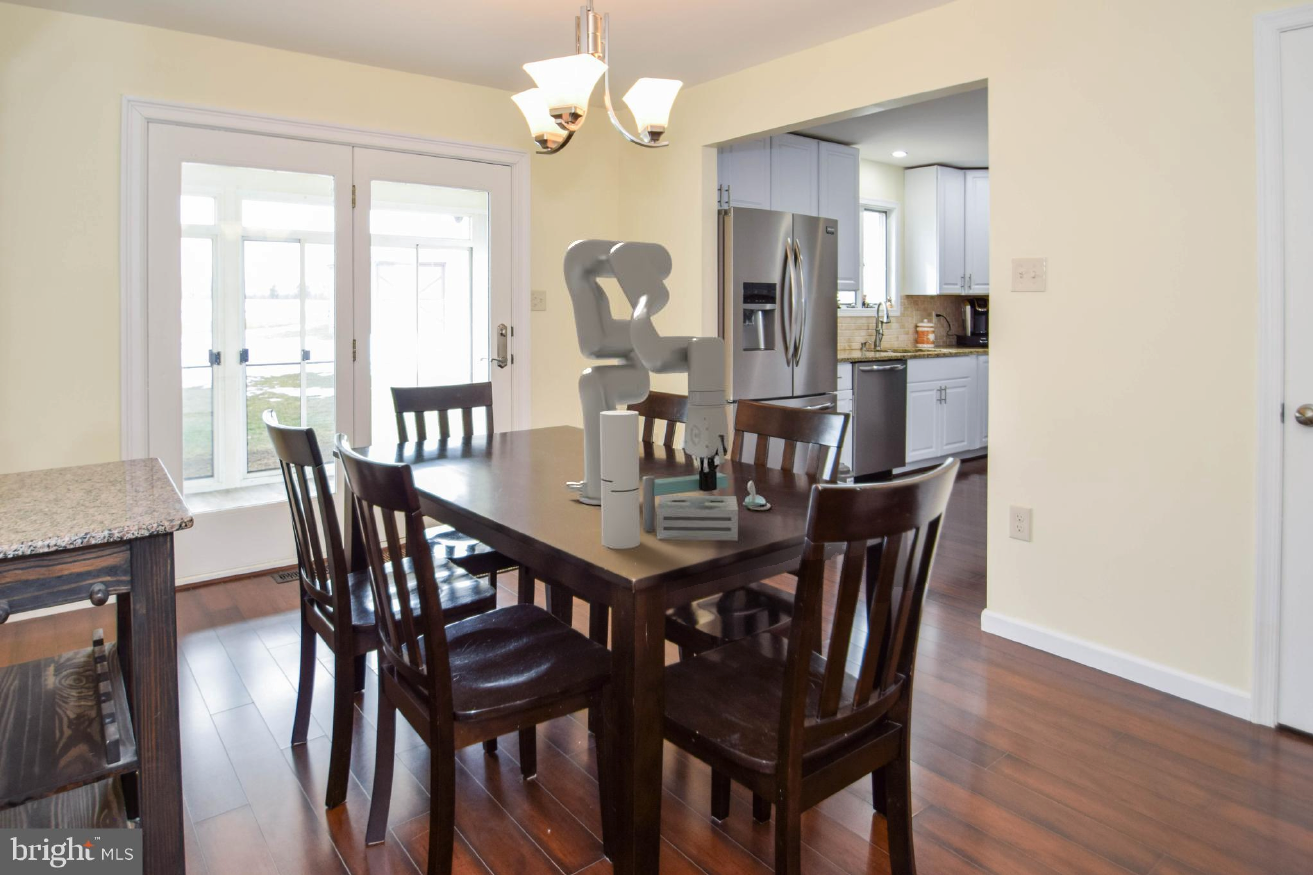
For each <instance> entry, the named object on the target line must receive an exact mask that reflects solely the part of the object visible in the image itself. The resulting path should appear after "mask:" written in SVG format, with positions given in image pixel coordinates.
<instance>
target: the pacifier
mask: <svg viewBox="0 0 1313 875" xmlns="http://www.w3.org/2000/svg"><path fill="white" fill-rule="evenodd" d="M747 491H748V492H749V495H748V496H746V497H745V499H744V501H743V502H742V505H744V506H748V509H749V508H750V510H756V511H766V510H769V509H770V508H771V504H770V503H768V502H766V499H765V498H764V497H763V496H761V495H759V494H756V488H755V483H754V481H753V480H750V481H749V482H748V483H747Z"/></svg>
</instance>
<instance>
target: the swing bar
mask: <svg viewBox="0 0 1313 875" xmlns="http://www.w3.org/2000/svg"><path fill="white" fill-rule="evenodd" d="M725 488H729V475H727V474H723V473H722V472H717V489H716V490H718V489H719V490H720V489H725ZM700 491H701V490H700V489H699V474H696V475H686V476H678V477H667V478H658V479H656V478H655V476H653V475H648V476H647V475H646V476H643V477H642V530H643V532H653V531H655V530H656V497H658V496H670V495H674V494H675V495H676V494H687V493H693V492H700Z"/></svg>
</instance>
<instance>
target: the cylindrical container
mask: <svg viewBox="0 0 1313 875" xmlns="http://www.w3.org/2000/svg"><path fill="white" fill-rule="evenodd" d="M639 423H640V422H639V411H635V410H618V409H617V410H616V411H604V412H600V446H601V505H600V506H601V507H600V508H601V509H600V510H601V545H602V546H603V545H604V546H603V547H604V548H608V547H609V548H608V549H615V550H622V549H624V550H625V549H626V550H627V549H632V548H636V547H638V546H639V545H640V544H641V541H640V539H641V538H640V534H641V532H640V442H639V441H640V439H639V438H640V435H639V434H640V433H639V432H640V431H639V430H640V427H639V425H640V424H639Z"/></svg>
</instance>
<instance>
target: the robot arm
mask: <svg viewBox="0 0 1313 875" xmlns="http://www.w3.org/2000/svg"><path fill="white" fill-rule="evenodd" d="M562 266H563V268H562V269H563V276H564V281H565V284H566V288H567V290H568V294H569V296H570V300H571V302H572V308H573V315H574V322H575V330H576V336H577V343H578V348H579V350H580V353H581V355H582V356H583V357H584V358H585V359H587V360H590V361H591V360H592V361H604V360H605V361H611V360H613V361H614V360H617V364H604V365H603V364H602V365H600V364H599V365H594V366H590V367H587V369H585V370H583V371H582V373H581V374H580V376H579V378H578V381H577V382H578V394H579V398H580V399H579V400H580V403H581V409H582V419H583V420H582V422H583V423H582V424H583V451H584V454H583V456H584V460H583V461H584V465H583V466H584V479H583V480H580V481H579V482H575V481H574V482H573V481H570V482H568V481H567V482H566V491H570V492H579V494H578V495H577V496H578V498H577V499H578V501H579V502H581V503H583V504H587V505H593V506H594V505H595V506H601V446H600V412H604V411H616V410H618V408H617V406H627V405H636V404H639V403H642V402H643V401H645V400H646V399H647V398H648V396H649V394H650V389H651V379H650V378H651V377H650V373H653V374H655V375H669V374H687V409H686V414H685V421H684V422H685V423H684V424H685V425H684V451H685V452H686V453H687V455H691V458H692V459H693V460H695V461H696V467H697V470H698V475H699V489H700V490H701V491H702V492H711V491H716V490H718V489H717V473H718V471H719V466H720V465H723V464H725V457H726V456H727V455H728V454H729V447H730V446H729V445H730V444H729V441H730V440H729V438H730V437H729V424H728V423H729V422H728V416H727V415H728V414H727V409H726V406H727V405H726V404H727V387H726V386H727V381H726V380H727V376H726V375H727V374H726V368H727V367H726V363H727V362H726V342H725V340H724V339H723V338H722V337H719V336H690V335H689V336H688V335H685V336H683V335H681V336H680V335H679V336H678V335H677V336H676V335H675V336H673V335H672V336H671V335H669V336H666V335H665V336H664V335H663V336H661V335H660V334H659V333H658V331H657V329H656V327H655V325H654V323H653V321H652V319H651V318H652V317H653V316H655V315H657V314H658V313H659V312H661V311H662V310H663V309H664V308H665V307H666V306H667V304H668V303H669V300H670V291H669V290H668V287H667V286H666V284H665V283H664V281H665V280H666V279H668V278H669V276H670V274H671V273H672V269H673V259H672V257H671V253H670V252H669V250H668V249H667V248H666V247H665V246H663V245H662V244H659V243H657V242H656V243H655V242H646V241H645V242H643V241H623V240H622V241H620V240H610V239H609V240H608V239H597V238H596V239H595V238H587V239H586V238H585V239H581V240H577V241H574V242H573V243H572V244H570V245H569V247H568V248H567V250H566V252H565V255H564V258H563V265H562ZM597 278H604V279H616V281H617V283H618V285H619V286H620V288H621V290H622V292H623V294H624V296H625V298H626V299H627V301H628V303H629V305H630V307H631V308H632V313H631V315H630V319H626V318H613V315H612V311H611V306H610V304H611V303H610V299H609V297H608V295H607V293H606V291H605V289H604V288H603V287H602V285H601V284H600V283H599V282H598V281H597Z"/></svg>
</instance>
